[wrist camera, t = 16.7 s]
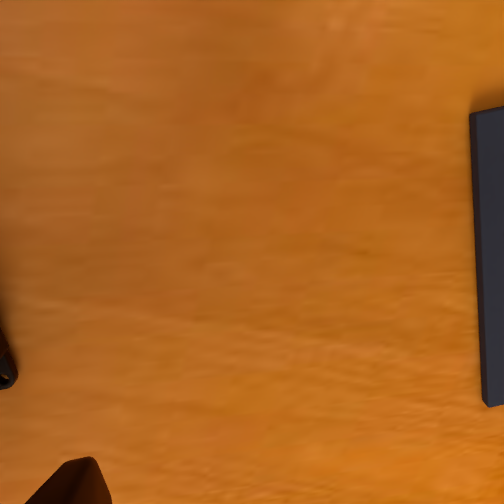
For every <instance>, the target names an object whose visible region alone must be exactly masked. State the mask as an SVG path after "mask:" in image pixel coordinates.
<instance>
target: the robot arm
mask: <svg viewBox="0 0 504 504" xmlns="http://www.w3.org/2000/svg"><path fill="white" fill-rule="evenodd" d="M1 374H4V375H7V377H8V378H9V379H5V378H3V377H2V376H1ZM17 378H18V371H17V369H16V367H15V364H14V362H13V360H12V358H11V356H10V353H9V351H8V343H7V341H6V339H5V336H4V334H3V332H2V330H1V327H0V390H3V389H7V388H10V387H11V386H12V385H13V384H14V383H15V381H16V380H17ZM25 504H112V499H111V495H110V492H109V490H108V487H107V485H106V483H105V480H104V478H103V475H102V473H101V470H100V468H99V466H98V463H97V462H96V460H95V459H94V458H93V457H90V456H88V457H83V458H79V459H74V460H70V461H67V462H65V463H64V464H63V465H61V466H60V467H59V469H58V470H57V471H56V472H55V473H54V474H53V475H52V476H51V477H50V478H49V479H48V480H47V481H46V482H45V483H44V484H43V485H42V486H41V487H40V488H39V489H38V490H37V491H36V492H35V493H34V494H33V495H32V496H31V497H30V498H29V500H28V501H27V502H26V503H25Z"/></svg>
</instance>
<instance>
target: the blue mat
mask: <svg viewBox="0 0 504 504" xmlns="http://www.w3.org/2000/svg"><path fill="white" fill-rule="evenodd" d="M469 116H470V138H471V160H472V182H473V204H474V225H475V247H476V269H477V291H478V312H479V334H480V356H481V378H482V400H483V402H484V403H485V404H486V405H487V406H488V407H489V408H490V407H494V406H499V405H504V106H501V107H496V108H492V109H487V110H483V111H478V112H474V113H471V114H470V115H469Z"/></svg>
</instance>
